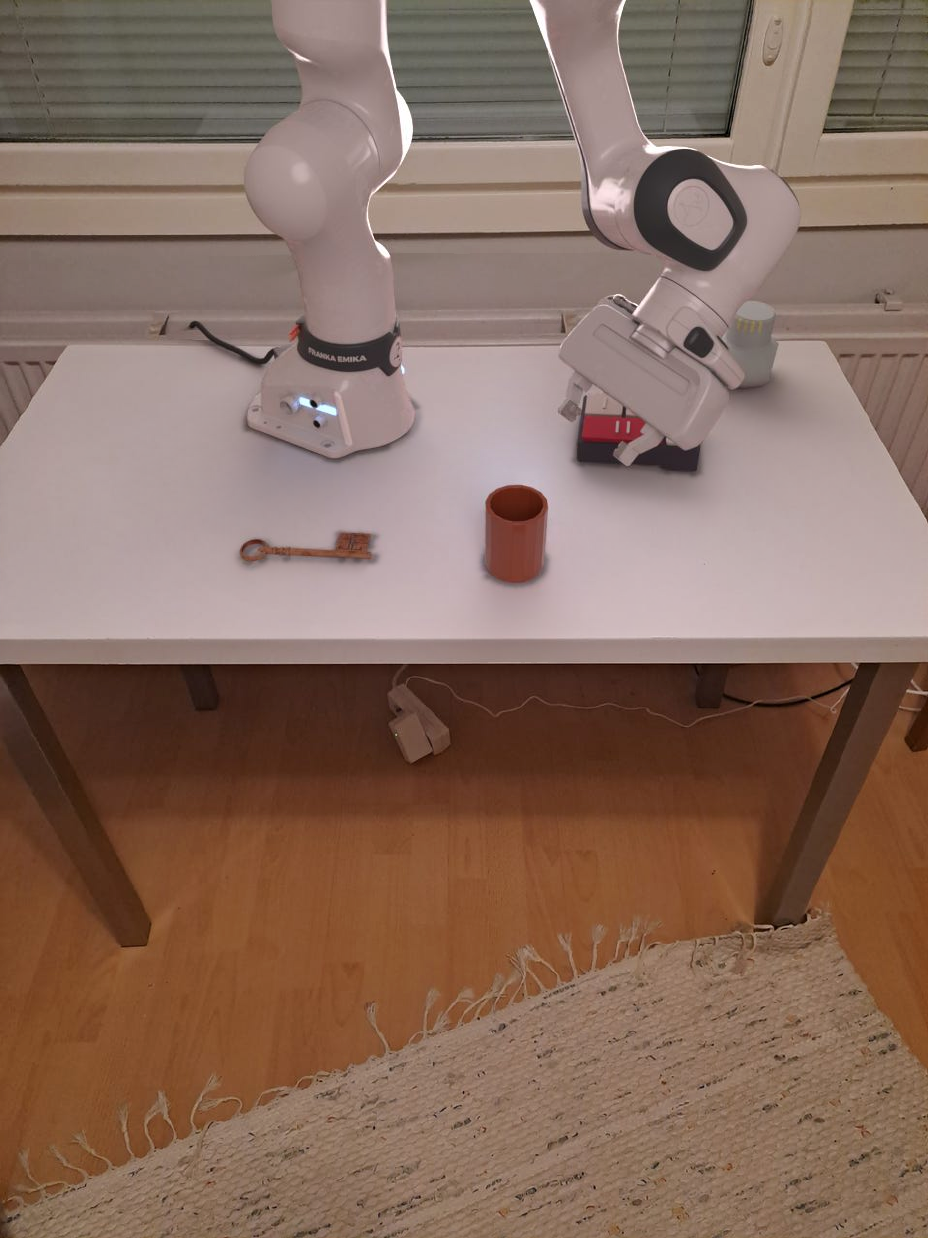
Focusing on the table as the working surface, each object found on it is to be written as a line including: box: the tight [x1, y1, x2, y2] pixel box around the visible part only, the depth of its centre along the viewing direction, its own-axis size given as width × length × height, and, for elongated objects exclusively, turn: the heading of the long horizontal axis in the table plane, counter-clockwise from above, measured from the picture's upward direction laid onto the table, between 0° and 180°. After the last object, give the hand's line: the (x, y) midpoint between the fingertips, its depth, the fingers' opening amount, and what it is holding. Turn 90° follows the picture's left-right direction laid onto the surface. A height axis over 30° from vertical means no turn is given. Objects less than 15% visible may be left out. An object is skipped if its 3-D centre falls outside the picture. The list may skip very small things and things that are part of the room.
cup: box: [484, 484, 549, 584], centre depth 100 cm, size 7×7×8 cm
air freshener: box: [722, 300, 779, 389], centre depth 125 cm, size 11×8×10 cm
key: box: [239, 531, 372, 562], centre depth 105 cm, size 6×1×15 cm
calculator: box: [576, 393, 701, 472], centre depth 117 cm, size 11×4×15 cm
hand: (591, 438), depth 97 cm, fingers open, 8 cm apart
